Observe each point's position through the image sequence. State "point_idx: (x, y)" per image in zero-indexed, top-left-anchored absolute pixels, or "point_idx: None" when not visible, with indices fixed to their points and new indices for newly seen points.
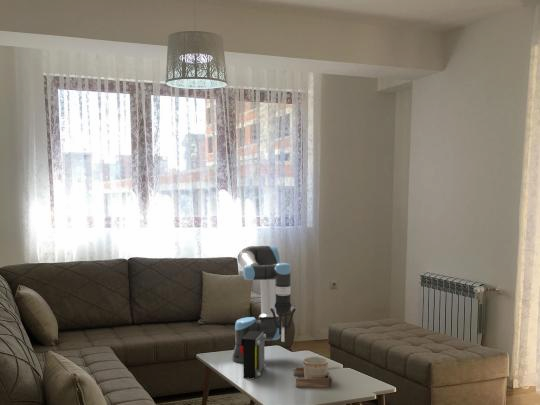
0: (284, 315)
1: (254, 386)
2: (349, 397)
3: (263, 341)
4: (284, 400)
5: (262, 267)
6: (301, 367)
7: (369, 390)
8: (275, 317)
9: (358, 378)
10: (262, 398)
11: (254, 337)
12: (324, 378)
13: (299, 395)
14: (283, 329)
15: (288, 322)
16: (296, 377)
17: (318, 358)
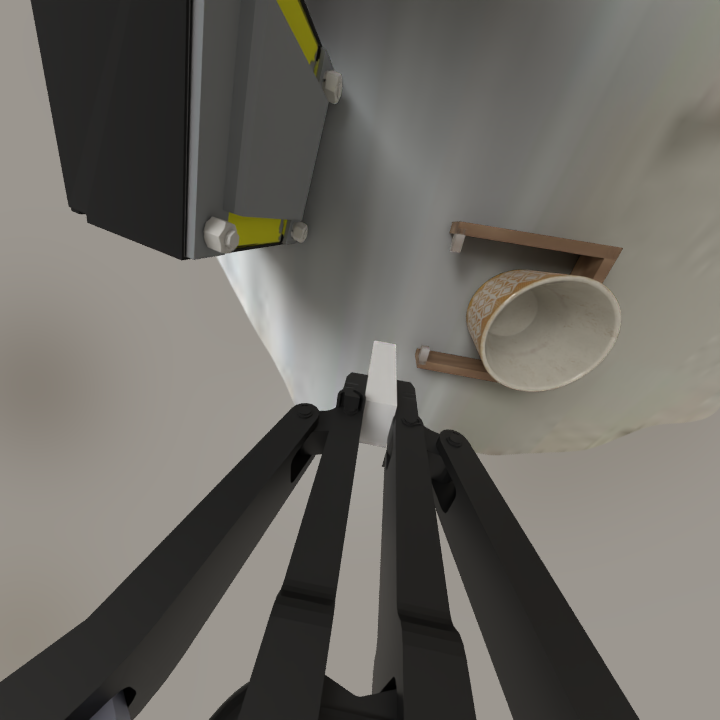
0: (379, 638)
1: (289, 323)
2: (527, 447)
3: (267, 55)
4: None
5: None
6: (496, 230)
7: (622, 421)
8: (237, 561)
9: (692, 315)
10: None
11: (161, 180)
12: None
13: None
14: (376, 441)
15: (451, 476)
16: (424, 354)
17: (593, 290)
